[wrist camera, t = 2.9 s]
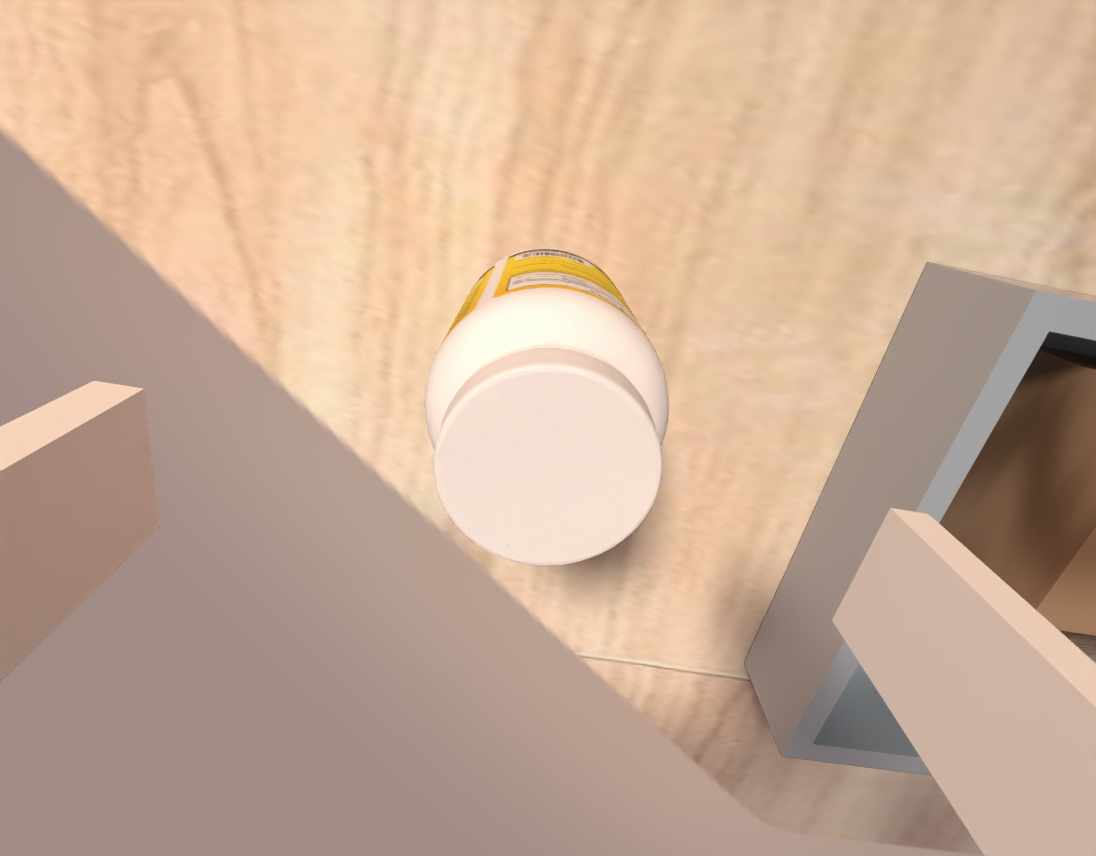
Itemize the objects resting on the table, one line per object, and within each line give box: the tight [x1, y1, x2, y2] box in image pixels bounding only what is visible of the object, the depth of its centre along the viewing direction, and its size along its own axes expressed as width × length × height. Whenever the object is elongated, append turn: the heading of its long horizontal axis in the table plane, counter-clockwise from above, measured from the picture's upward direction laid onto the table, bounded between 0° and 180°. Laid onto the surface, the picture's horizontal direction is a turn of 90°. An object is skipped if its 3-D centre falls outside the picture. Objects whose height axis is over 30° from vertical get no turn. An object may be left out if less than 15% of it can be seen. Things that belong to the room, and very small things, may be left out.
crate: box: [744, 262, 1096, 775], centre depth 23 cm, size 20×16×5 cm
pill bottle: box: [425, 248, 669, 566], centre depth 16 cm, size 6×6×11 cm
